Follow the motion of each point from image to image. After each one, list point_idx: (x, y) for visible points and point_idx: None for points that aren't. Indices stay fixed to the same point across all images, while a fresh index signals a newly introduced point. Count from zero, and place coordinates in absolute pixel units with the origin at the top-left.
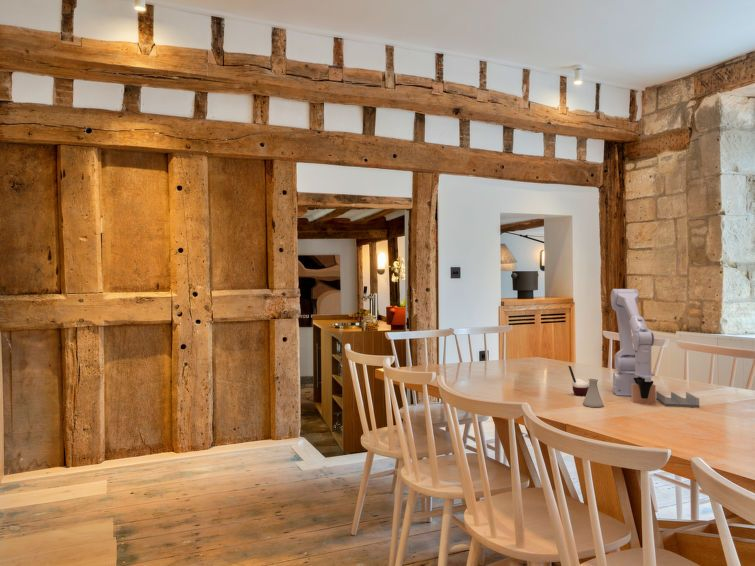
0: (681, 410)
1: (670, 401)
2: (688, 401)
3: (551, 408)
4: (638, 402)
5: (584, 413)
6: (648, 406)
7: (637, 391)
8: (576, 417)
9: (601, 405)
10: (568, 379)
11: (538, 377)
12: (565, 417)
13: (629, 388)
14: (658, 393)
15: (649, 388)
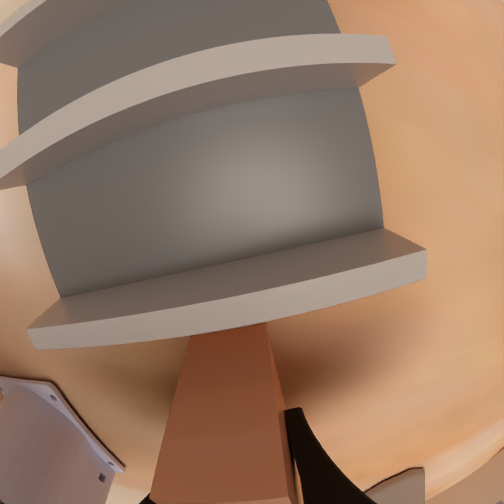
0: (468, 133)
1: (234, 184)
2: (153, 12)
3: None
4: None
5: (476, 451)
6: (397, 358)
7: (300, 492)
8: (499, 440)
9: (417, 472)
10: None
11: None
12: (493, 449)
13: (70, 462)
14: (109, 338)
15: (348, 482)
